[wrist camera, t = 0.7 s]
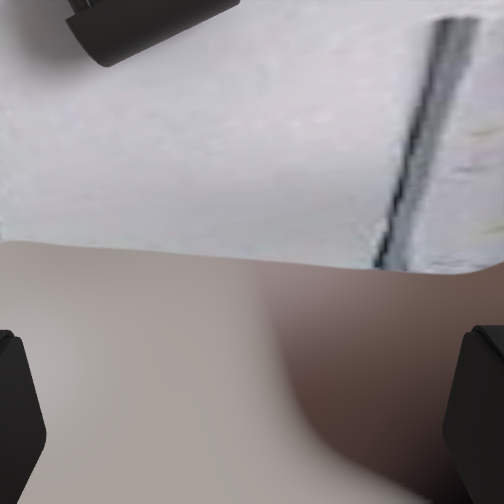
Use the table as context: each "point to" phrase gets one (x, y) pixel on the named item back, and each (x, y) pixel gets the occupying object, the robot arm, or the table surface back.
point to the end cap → (135, 24)
